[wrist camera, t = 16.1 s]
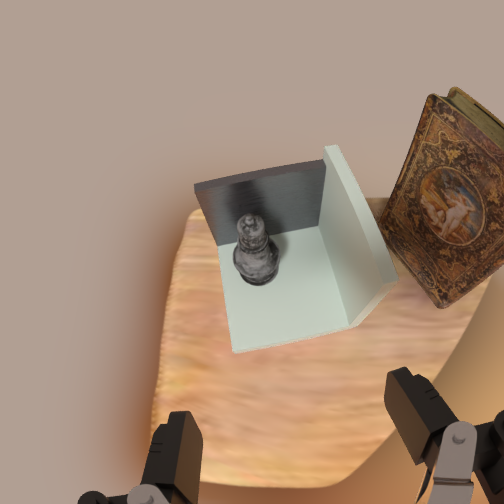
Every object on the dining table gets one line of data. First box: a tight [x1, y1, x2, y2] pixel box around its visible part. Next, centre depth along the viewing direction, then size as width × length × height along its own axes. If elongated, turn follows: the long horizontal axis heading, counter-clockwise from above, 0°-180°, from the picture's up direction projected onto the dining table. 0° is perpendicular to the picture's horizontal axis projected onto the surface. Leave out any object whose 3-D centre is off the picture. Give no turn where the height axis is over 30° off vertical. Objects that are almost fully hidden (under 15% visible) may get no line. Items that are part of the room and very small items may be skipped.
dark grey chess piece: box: [233, 214, 281, 286], centre depth 33 cm, size 6×6×12 cm
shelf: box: [194, 145, 399, 354], centre depth 32 cm, size 16×16×16 cm
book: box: [378, 87, 504, 309], centre depth 27 cm, size 16×6×25 cm, turn 31°
